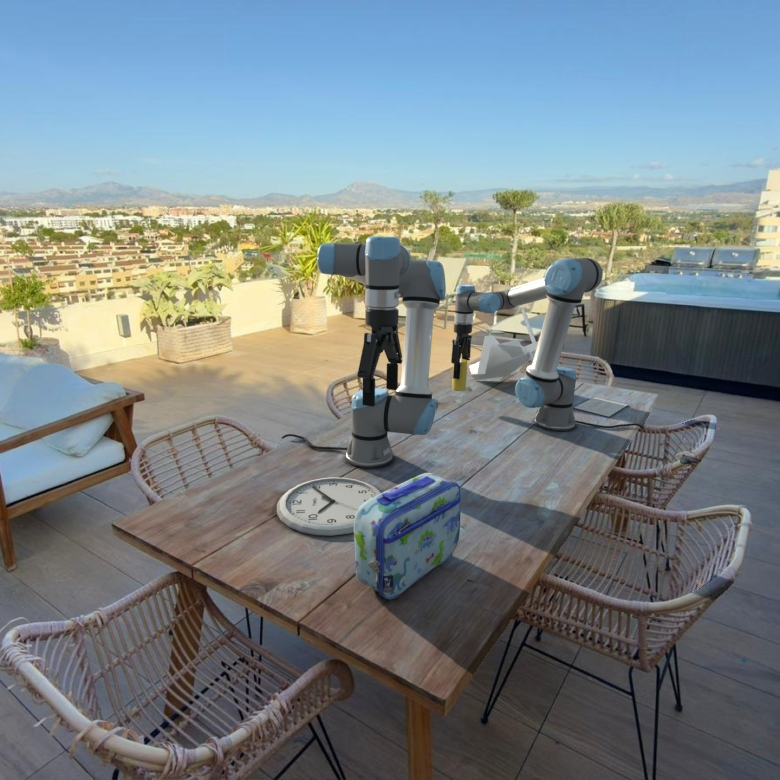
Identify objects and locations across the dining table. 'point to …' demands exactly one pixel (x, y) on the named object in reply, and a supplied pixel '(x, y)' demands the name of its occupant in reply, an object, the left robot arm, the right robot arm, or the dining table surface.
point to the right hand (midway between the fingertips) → (459, 376)
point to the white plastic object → (503, 356)
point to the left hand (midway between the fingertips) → (380, 397)
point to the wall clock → (324, 505)
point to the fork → (436, 397)
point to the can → (460, 383)
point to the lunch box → (406, 533)
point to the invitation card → (601, 406)
